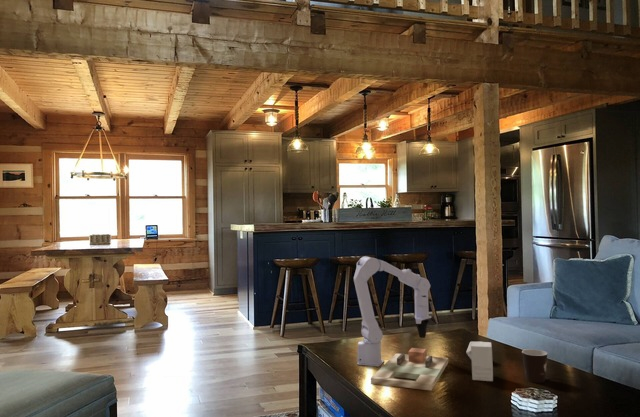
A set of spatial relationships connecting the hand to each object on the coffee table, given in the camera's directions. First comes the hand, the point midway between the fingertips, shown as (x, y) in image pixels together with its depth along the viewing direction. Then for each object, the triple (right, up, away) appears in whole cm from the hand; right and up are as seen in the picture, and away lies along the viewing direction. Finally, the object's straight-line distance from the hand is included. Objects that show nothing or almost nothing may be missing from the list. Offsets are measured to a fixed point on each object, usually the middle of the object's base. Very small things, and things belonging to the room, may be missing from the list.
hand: (422, 337), depth 213 cm
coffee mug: (+36, -8, -30) cm, 48 cm away
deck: (-8, -9, -19) cm, 22 cm away
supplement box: (+17, -8, -27) cm, 33 cm away
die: (+22, -9, -5) cm, 24 cm away
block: (-4, -7, -9) cm, 12 cm away
